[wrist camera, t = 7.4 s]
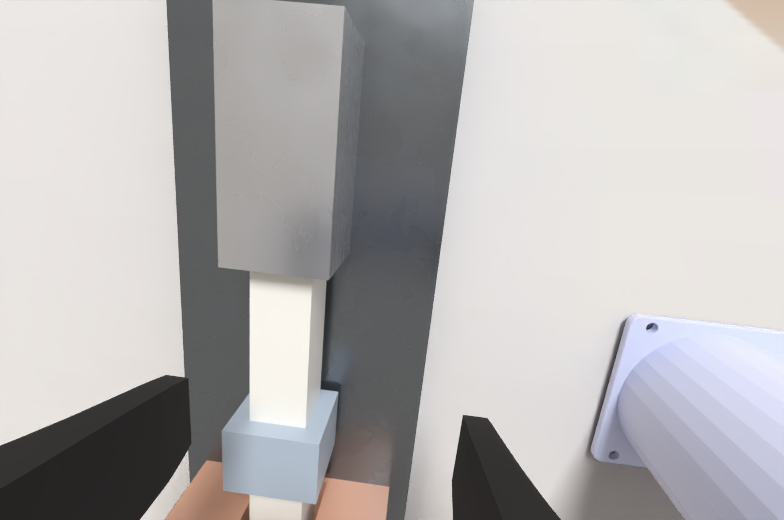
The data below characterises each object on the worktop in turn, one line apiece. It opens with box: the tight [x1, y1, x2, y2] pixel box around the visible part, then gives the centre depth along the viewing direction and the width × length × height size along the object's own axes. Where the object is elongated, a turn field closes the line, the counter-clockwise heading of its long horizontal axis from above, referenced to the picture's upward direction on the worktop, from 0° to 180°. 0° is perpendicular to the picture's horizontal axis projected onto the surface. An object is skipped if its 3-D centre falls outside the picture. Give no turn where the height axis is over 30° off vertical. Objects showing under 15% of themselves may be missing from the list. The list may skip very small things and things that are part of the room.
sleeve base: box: [166, 0, 474, 520], centre depth 17 cm, size 12×28×5 cm, turn 175°
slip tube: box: [222, 271, 338, 520], centre depth 17 cm, size 4×16×4 cm, turn 174°
